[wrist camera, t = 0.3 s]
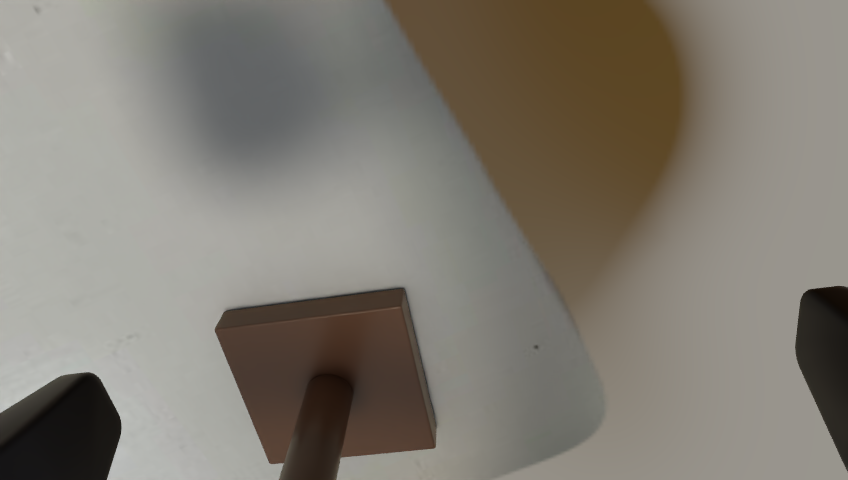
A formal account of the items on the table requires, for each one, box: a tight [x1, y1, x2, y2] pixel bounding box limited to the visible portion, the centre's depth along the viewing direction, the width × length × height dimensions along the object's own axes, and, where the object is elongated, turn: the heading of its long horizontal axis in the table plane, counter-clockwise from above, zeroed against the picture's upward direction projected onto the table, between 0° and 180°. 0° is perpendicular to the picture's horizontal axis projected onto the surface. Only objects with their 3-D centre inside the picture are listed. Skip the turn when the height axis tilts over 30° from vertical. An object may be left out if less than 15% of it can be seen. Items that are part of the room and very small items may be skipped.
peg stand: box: [215, 289, 436, 480], centre depth 22 cm, size 7×7×8 cm
